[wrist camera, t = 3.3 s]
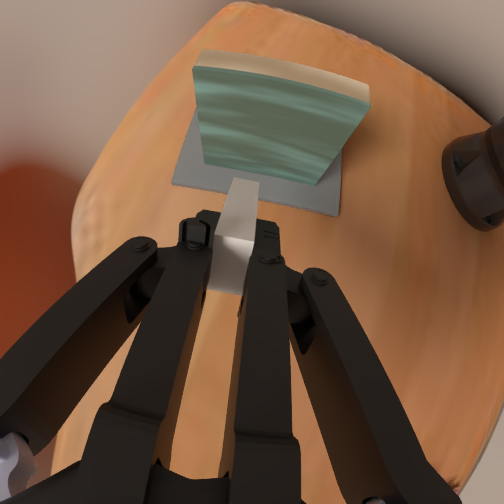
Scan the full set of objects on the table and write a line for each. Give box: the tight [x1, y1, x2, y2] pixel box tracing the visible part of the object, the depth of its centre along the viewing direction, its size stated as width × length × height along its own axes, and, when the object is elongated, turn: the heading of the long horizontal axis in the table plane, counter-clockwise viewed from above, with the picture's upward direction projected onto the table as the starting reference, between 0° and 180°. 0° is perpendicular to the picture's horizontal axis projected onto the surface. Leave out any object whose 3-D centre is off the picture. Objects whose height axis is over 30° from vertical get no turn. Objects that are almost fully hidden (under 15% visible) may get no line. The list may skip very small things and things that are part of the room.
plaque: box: [192, 49, 371, 186], centre depth 23 cm, size 2×12×14 cm, turn 80°
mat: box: [171, 107, 342, 217], centre depth 31 cm, size 22×18×1 cm
